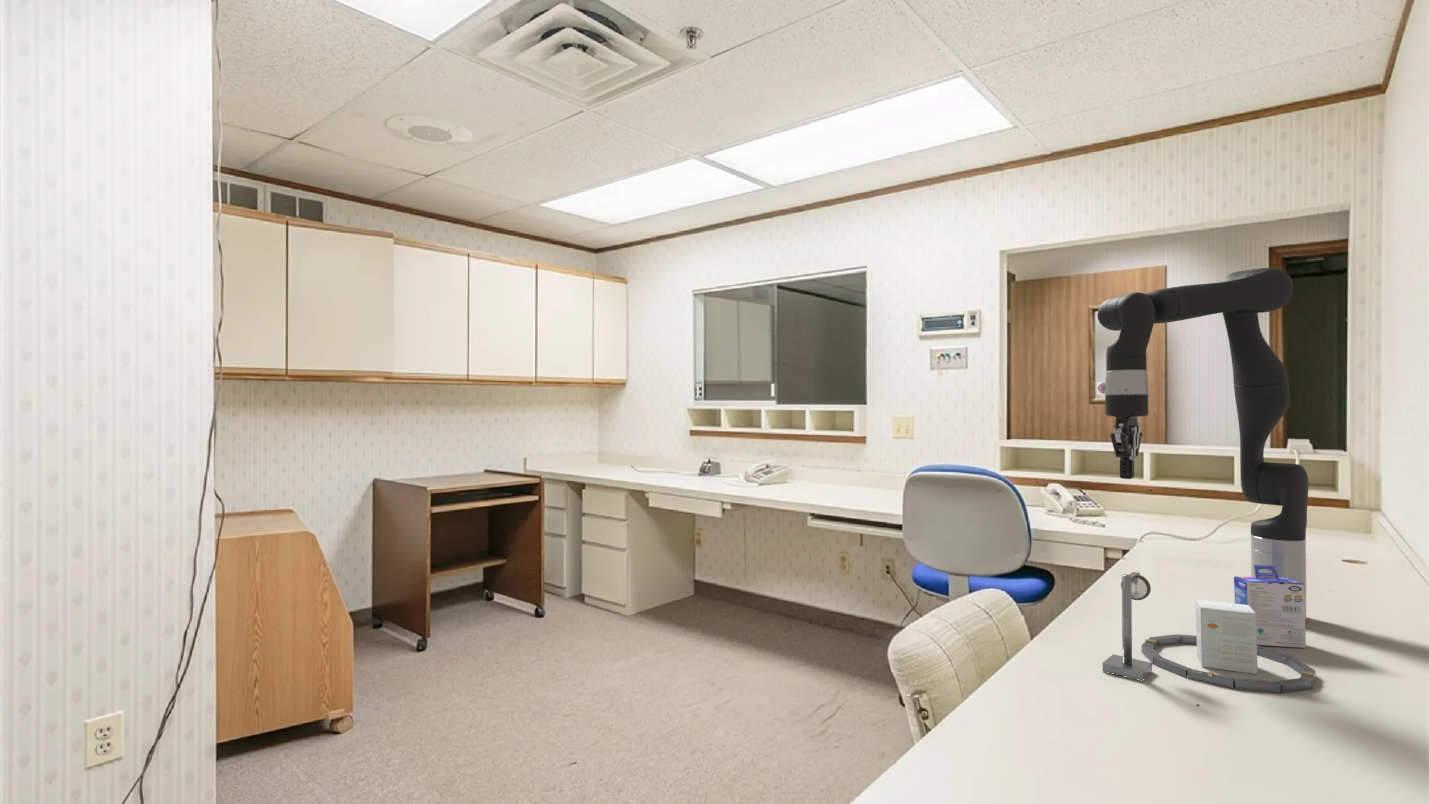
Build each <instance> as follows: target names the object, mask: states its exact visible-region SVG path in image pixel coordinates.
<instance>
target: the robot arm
mask: <svg viewBox="0 0 1429 804" xmlns="http://www.w3.org/2000/svg"><path fill="white" fill-rule="evenodd" d="M1293 292H1294V284H1293V281H1292V278H1291V276H1290V275H1289V274H1288V273H1287V272H1286V271H1284V270H1282V269H1281V268H1280V269H1279V268H1276V267H1275V268H1274V267H1262V268H1255V269H1246V270H1245V269H1244V270H1240V271H1239V270H1238V271H1234V272H1231V273H1229V274H1228V275H1227V276H1225V278H1224V279H1223V280H1222V281H1219V282H1211V283H1210V282H1208V283H1200V284H1189V285H1188V284H1187V285H1180V286H1173V287H1167V288H1160V289H1156V290H1153V291H1150V292H1146V293H1144V292H1136V291H1135V292H1131V293H1127V294H1126V293H1125V294H1122V295H1117V296H1113V297H1110V298H1108V299H1106V300H1104V301H1103V302H1102V303H1101V305H1100V306H1099V307H1098V309H1097V314H1096V315H1097V320H1098V321H1099V323H1100V325H1101V326H1102V327H1103V328H1105V329H1107V330H1109V331H1114V332H1115V331H1120V332H1119V336H1118V338H1117V339H1116V340H1115V341H1113V342H1111V343H1110V344H1109V345H1108V346H1107V347H1106V354H1105V357H1106V359H1105V360H1106V361H1105V367H1106V369H1105V371H1106V373H1105V374H1106V375H1105V379H1104V380H1105V382H1104V385H1105V386H1104V390H1105V391H1104V392H1105V393H1104V396H1105V397H1104V399H1105V400H1104V407H1105V408H1104V409H1105V411H1104V412H1105V416H1107V417H1115V423H1114V425H1113V427H1112V430H1113V431H1112V432H1111V433H1110V439H1111V443H1112V447H1113V451H1114V456H1115V457H1116V458H1117V459H1118V460H1119V478H1120V479H1124V480H1132V479H1134V477H1135V461H1136V458H1137V457H1138V456H1139V451H1140V447H1141V442H1142V437H1143V433H1142V431H1141V425H1139V423H1138V417H1140V418H1141V417H1147V416H1148V415H1149V379H1148V371H1147V369H1148V368H1147V367H1148V366H1147V348H1148V346H1149V343H1150V341H1151V340H1150V339H1151V336H1152V331H1153V329H1154V324H1156V325H1157V324H1169V323H1173V322H1181V321H1186V320H1190V319H1195V318H1200V317H1205V316H1210V315H1211V316H1212V315H1216V314H1222V316H1223V320H1224V325H1225V328H1226V333H1227V338H1228V344H1229V350H1230V357H1231V364H1232V365H1231V366H1232V374H1233V375H1232V378H1233V389H1234V399H1235V406H1236V412H1237V419H1238V420H1237V421H1238V429H1239V430H1238V431H1239V443H1240V444H1239V449H1240V450H1239V451H1240V452H1239V455H1240V456H1239V458H1240V459H1239V460H1240V465H1239V466H1240V469H1239V470H1240V487H1241V491H1242V494H1243V497H1244V498H1245V499H1246V500H1247V501H1248V502H1249V503H1252V504H1260V505H1267V506H1268V505H1269V506H1280V507H1281V511H1280V513H1279V514H1278V515H1276V516H1274V517H1269V518H1265V519H1258V520H1255V521H1252V522H1251V524H1250V561H1251V564H1250V565H1251V567H1250V568H1251V569H1250V570H1251V571H1250V572H1251V576H1250V577H1256V575H1255V571H1254V566H1253V565H1262V566H1274V567H1275V570H1276V572H1277V575H1278V578H1291V579H1293V580H1296V581H1298V582H1301V583H1304V585H1305V586H1304V588H1305V622H1307V550H1306V549H1307V547H1306V546H1307V544H1306V543H1307V542H1306V537H1307V535H1306V534H1307V532H1306V531H1307V526H1308V524H1307V522H1308V499H1309V477H1308V472H1307V471H1306V469H1305V468H1304V467H1303V465H1300V464H1297V463H1290V462H1289V463H1287V462H1286V463H1285V462H1271V461H1270V462H1269V461H1268V462H1267V461H1265V459H1264V453H1265V452H1264V451H1265V446H1266V442H1267V440H1268V438H1269V436H1270V434H1271V433H1272V431H1273V430H1274V429H1275V428H1276V426H1277V424H1279V421H1280V420H1281V419H1282V417H1283V416H1284V415H1285V413H1286V411H1287V410H1288V409H1289V405H1290V401H1291V395H1290V394H1291V393H1290V385H1289V376H1288V371H1287V369H1286V367H1285V365H1284V364H1283V363H1282V361H1281V360H1280V357H1278V355H1277V354H1276V353H1275V351H1274V350H1273V349H1272V348H1271V346H1270V345H1269V343H1268V342H1267V341H1266V339H1265V337H1264V336H1263V333H1262V330H1261V327H1260V322H1259V314H1260V313H1261V314H1263V313H1269V312H1270V313H1271V312H1274V311H1277V310H1279V309H1282V308H1283V307H1284V306H1285V305H1287V304H1288V302H1289V301H1290V300H1291V298H1292V296H1293ZM1258 572H1259V573H1273V572H1272V571H1271V570H1268V569H1261V570H1258Z"/></svg>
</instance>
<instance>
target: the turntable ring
mask: <svg viewBox="0 0 1429 804" xmlns="http://www.w3.org/2000/svg"><path fill="white" fill-rule="evenodd" d="M1177 644H1178V645H1179V644H1187V645H1197V635H1193V634H1192V635H1190V634H1177V633H1176V634H1168V635H1167V634H1166V635H1156V636H1150V637H1149V638H1148V639H1147V638H1146V639H1145V641H1144V642H1143V643H1142V644H1141V653H1142V654H1143V655H1144V656H1145V657H1146V658H1147V659H1148V660H1149V661H1150V663H1152V665H1154V664H1155V665H1154V666H1157V667H1159V668H1162V667H1163V668H1162V669H1164V670H1166V669H1167V671H1169V670H1170V671H1169V672H1171V671H1172V672H1171V673H1174V674H1176V673H1178V674H1177V675H1179V674H1180V675H1179V676H1181V675H1182V676H1181V677H1183V676H1185V677H1184V678H1186V677H1187V676H1188V677H1187V679H1190V678H1191V680H1194V679H1196V680H1195V681H1199V682H1202V683H1208V684H1212V685H1215V684H1216V686H1220V687H1224V688H1228V689H1229V688H1230V689H1235V690H1243V691H1252V692H1253V691H1255V692H1265V693H1275V694H1285V693H1292V692H1300V691H1307V690H1312V689H1313V687H1314V684H1315V681H1316V680H1317V679H1316V678H1317V673H1316V671H1317V670H1315V669H1314V668H1312V667H1310V666H1309V665H1307V664H1306V663H1304V662H1303V661H1302V660H1300V659H1298V658H1297V657H1295V656H1292V655H1290V654H1289V655H1288V654H1286V653H1282V652H1280V651H1277V650H1273V649H1270V648H1268V647H1264V646H1263V645H1257V656H1258V655H1259V656H1260V657H1265V658H1267V659H1270V660H1273V661H1276V662H1279V663H1281V664H1284V665H1287V666H1288V667H1290V668H1291V669H1293V670H1294V671H1295V672H1297V673H1298V674H1300V677H1298V678H1292V679H1284V680H1277V681H1269V680H1261V679H1260V680H1258V679H1248V678H1247V679H1246V678H1236V677H1228V676H1225V675H1220V674H1215V672H1214V671H1208V672H1207V671H1203V670H1197V669H1194V668H1191V667H1188V666H1185V665H1184V664H1183V665H1182V664H1180V663H1178V662H1176V661H1172V660H1170V659H1168V658H1165V657H1163V656H1162V655H1160V654H1159V653H1158V652H1157V651H1156V649H1158V647H1160V646H1170V645H1177Z"/></svg>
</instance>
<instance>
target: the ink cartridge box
mask: <svg viewBox="0 0 1429 804" xmlns="http://www.w3.org/2000/svg"><path fill="white" fill-rule="evenodd" d="M1253 566H1254V571H1255V575H1256V577H1251V576H1237V575H1236V576H1233V589H1234V604H1243V605H1249V606H1250V607H1251V608H1252V610H1253V611H1254V612H1255V613H1256V622H1257V646H1258V645H1259V646H1269V647H1282V648H1283V647H1286V648H1300V649H1301V648H1303V649H1305V648H1306V647H1307V643H1306V642H1307V641H1306V639H1307V638H1306V635H1307V634H1306V621H1305V588H1304V586H1305V585H1304V583H1301V582H1298V581H1296V580H1293V579H1291V578H1278V575H1277V572H1276V570H1275V567H1274V566H1262V565H1253ZM1261 569H1268V570H1271V571H1272V572H1273V573H1259V572H1258V570H1261Z"/></svg>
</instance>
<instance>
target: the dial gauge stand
mask: <svg viewBox="0 0 1429 804" xmlns="http://www.w3.org/2000/svg"><path fill="white" fill-rule="evenodd" d="M1120 582H1121V583H1120V588H1121V621H1122V623H1121V625H1122V626H1121V627H1122V633H1121V634H1122V635H1121V636H1122V637H1121V638H1122V639H1121V640H1122V641H1121V642H1122V643H1121V645H1122V646H1121V647H1122V651H1121V652H1122V655H1118V654H1114V653H1112V654H1111V655H1110V656H1109V657H1108V658H1106V659H1105V660H1104V661H1103V662H1102V672H1103V671H1105V672H1104V673H1106V672H1109V673H1108V674H1110V673H1114V674H1118V675H1121V676H1120V677H1122V676H1127V677H1130V678H1133V679H1132V680H1134V679H1139V680H1142V681H1141V682H1144V681H1143V679H1145V678H1146V677H1147V678H1148V677H1149V676H1150V675H1151V674H1152V672H1153V663H1152V662H1151V661H1150V662H1149V661H1146V660H1145V661H1144V660H1140V659H1136V658H1133V632H1132V631H1133V626H1132V625H1133V620H1132V619H1133V617H1132V616H1133V614H1132V609H1133V608H1132V607H1133V606H1132V605H1133V604H1132V603H1133V602H1132V600H1134V601H1141V600H1144V599H1146V598H1148V596H1149V595H1150V594H1151V592H1152V586H1151V584H1150V582H1149V580H1148V579H1147V578H1146V577H1145V576H1143V575H1141V573H1140V572H1138V571H1137V572H1136V571H1132V572H1130V573H1128V574H1121V581H1120ZM1114 674H1113V675H1114ZM1118 675H1117V676H1118ZM1130 678H1129V679H1130ZM1147 678H1146V679H1147ZM1146 679H1145V680H1146Z"/></svg>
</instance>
